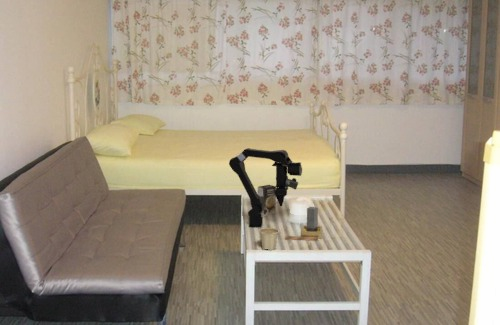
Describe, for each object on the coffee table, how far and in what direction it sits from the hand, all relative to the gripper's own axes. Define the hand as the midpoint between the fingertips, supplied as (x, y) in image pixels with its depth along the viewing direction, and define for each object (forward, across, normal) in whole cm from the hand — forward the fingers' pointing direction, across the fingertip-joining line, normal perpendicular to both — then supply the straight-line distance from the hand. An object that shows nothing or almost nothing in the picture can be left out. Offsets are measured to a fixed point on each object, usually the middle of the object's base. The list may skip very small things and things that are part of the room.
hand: (281, 204), depth 312 cm
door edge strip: (+13, -18, -11) cm, 25 cm away
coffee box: (+13, +27, +10) cm, 32 cm away
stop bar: (+13, -11, -16) cm, 23 cm away
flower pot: (+13, -33, +4) cm, 36 cm away
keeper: (+13, -11, -16) cm, 23 cm away
